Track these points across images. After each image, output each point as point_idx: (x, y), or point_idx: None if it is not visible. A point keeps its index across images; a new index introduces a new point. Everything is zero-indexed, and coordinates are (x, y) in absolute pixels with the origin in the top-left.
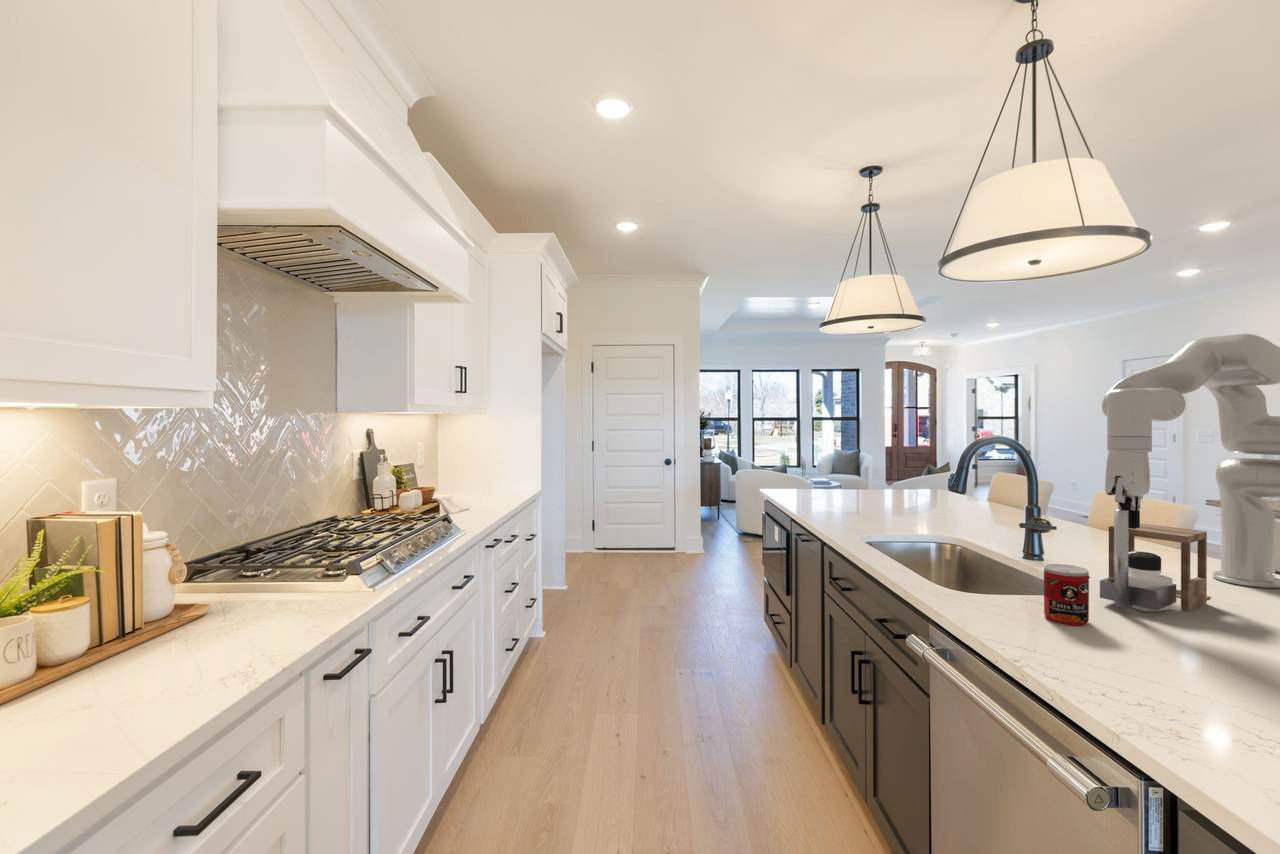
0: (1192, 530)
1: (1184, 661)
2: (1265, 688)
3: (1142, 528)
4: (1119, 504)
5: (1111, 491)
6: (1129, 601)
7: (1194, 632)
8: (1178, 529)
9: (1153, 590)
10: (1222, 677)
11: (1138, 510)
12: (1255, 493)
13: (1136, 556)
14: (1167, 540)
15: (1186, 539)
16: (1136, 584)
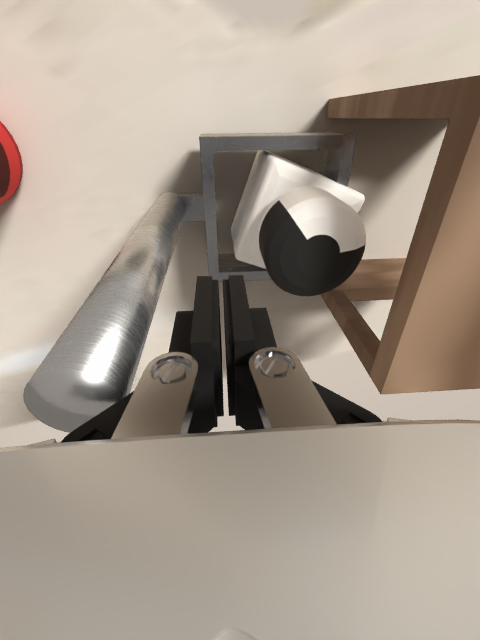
0: None
1: (8, 360)
2: (24, 420)
3: None
4: (102, 413)
5: (84, 483)
6: (189, 220)
7: (173, 321)
8: None
9: (213, 274)
10: (4, 395)
11: (236, 423)
12: None
13: (269, 250)
14: (385, 329)
15: (377, 382)
16: (242, 226)
